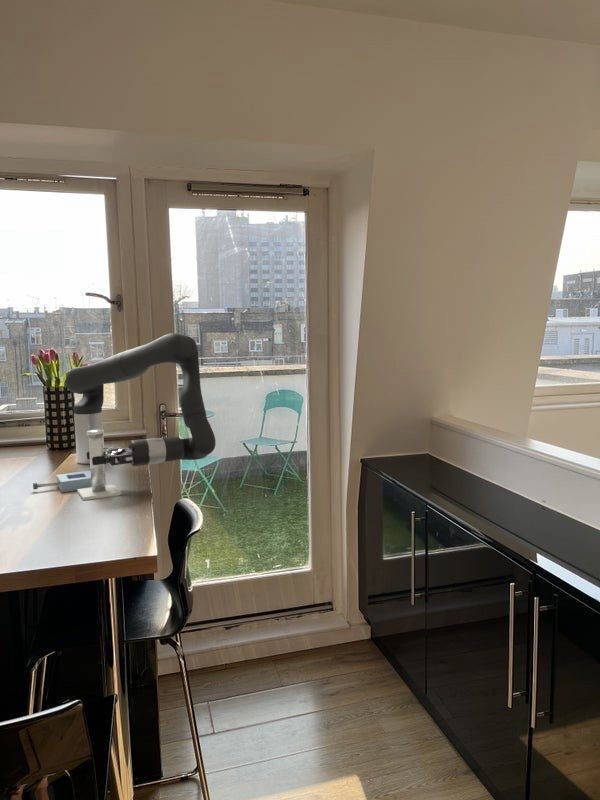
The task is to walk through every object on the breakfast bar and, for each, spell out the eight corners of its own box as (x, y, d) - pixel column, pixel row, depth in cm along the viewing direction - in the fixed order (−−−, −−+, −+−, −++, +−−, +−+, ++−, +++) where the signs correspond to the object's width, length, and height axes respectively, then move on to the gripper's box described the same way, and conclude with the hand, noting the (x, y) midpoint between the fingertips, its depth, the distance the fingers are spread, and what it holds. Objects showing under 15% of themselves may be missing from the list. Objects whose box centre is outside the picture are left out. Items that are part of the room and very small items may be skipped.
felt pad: (77, 491, 177) (77, 489, 177) (113, 487, 182) (112, 484, 182) (83, 500, 168) (83, 497, 168) (120, 494, 173) (120, 492, 173)
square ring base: (32, 487, 182) (31, 478, 182) (91, 480, 190) (90, 470, 190) (35, 495, 174) (34, 485, 173) (97, 487, 182) (96, 477, 181)
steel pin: (88, 489, 176) (85, 430, 174) (105, 487, 178) (102, 429, 176) (91, 493, 172) (88, 433, 170) (108, 491, 174) (105, 431, 172)
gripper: (140, 435, 186) (84, 441, 179) (153, 442, 174) (93, 449, 166) (141, 459, 187) (85, 466, 179) (154, 469, 175) (95, 476, 167)
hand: (89, 458), depth 173 cm, fingers open, 8 cm apart
